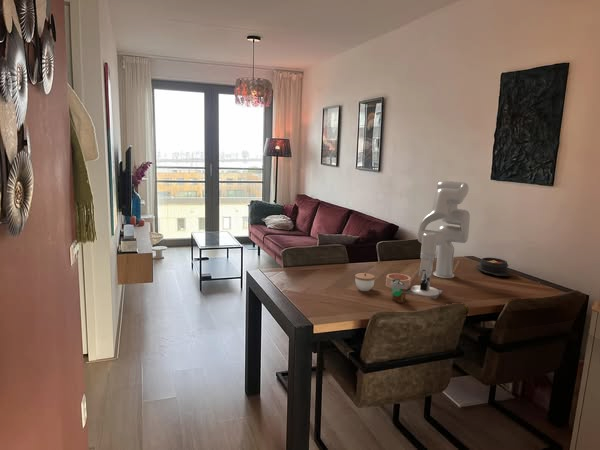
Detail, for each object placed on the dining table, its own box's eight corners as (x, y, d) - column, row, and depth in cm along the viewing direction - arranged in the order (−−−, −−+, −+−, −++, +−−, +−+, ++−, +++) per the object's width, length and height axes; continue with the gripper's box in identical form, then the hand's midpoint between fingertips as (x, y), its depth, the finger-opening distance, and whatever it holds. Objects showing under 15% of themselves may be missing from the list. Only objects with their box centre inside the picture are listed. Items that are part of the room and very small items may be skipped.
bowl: (390, 282, 253) (391, 272, 252) (412, 286, 246) (413, 276, 245) (382, 287, 242) (383, 277, 241) (405, 292, 235) (406, 282, 234)
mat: (414, 285, 247) (414, 284, 247) (442, 291, 239) (443, 290, 239) (405, 293, 234) (405, 292, 234) (435, 299, 226) (435, 298, 226)
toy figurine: (386, 295, 229) (388, 277, 227) (398, 296, 230) (399, 277, 228) (393, 304, 217) (395, 285, 215) (405, 304, 217) (407, 285, 216)
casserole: (518, 278, 270) (520, 265, 269) (492, 279, 266) (494, 266, 265) (492, 267, 294) (494, 255, 293) (468, 267, 290) (469, 255, 289)
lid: (414, 285, 246) (415, 275, 245) (441, 290, 239) (442, 280, 238) (406, 292, 234) (407, 281, 233) (435, 298, 226) (436, 287, 225)
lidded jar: (373, 293, 232) (374, 276, 230) (353, 291, 234) (354, 274, 232) (374, 287, 242) (375, 271, 241) (355, 285, 245) (356, 269, 243)
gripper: (425, 251, 242) (422, 283, 245) (416, 258, 227) (413, 291, 231) (438, 253, 238) (435, 285, 241) (430, 260, 224) (427, 293, 227)
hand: (424, 287), depth 236 cm, fingers open, 5 cm apart
